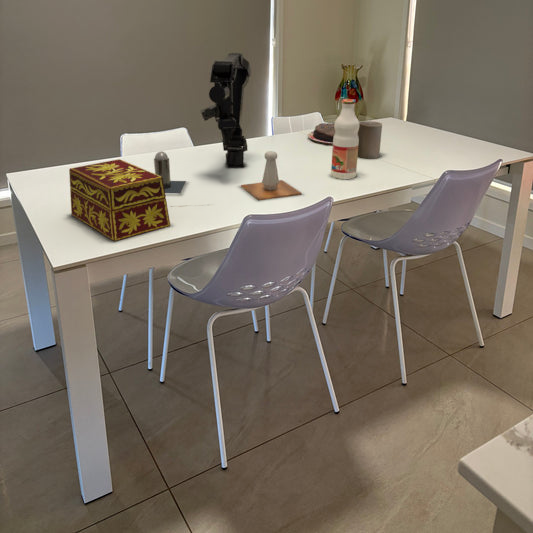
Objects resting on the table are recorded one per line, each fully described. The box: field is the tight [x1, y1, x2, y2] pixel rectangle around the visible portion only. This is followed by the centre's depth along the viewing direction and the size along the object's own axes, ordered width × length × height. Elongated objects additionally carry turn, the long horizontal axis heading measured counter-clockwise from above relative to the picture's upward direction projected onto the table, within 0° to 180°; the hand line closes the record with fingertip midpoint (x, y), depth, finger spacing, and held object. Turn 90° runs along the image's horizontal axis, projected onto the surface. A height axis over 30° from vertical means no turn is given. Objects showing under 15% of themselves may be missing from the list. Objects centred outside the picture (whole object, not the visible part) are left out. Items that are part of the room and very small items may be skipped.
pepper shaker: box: [153, 151, 172, 189], centre depth 204 cm, size 5×5×12 cm
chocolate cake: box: [307, 122, 335, 146], centre depth 274 cm, size 28×28×7 cm
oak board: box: [240, 179, 302, 201], centre depth 205 cm, size 16×16×1 cm
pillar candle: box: [357, 119, 383, 160], centre depth 245 cm, size 10×10×15 cm
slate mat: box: [165, 180, 187, 195], centre depth 206 cm, size 14×14×1 cm
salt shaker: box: [261, 150, 280, 191], centre depth 203 cm, size 6×6×13 cm
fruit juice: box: [330, 98, 360, 180], centre depth 216 cm, size 9×9×28 cm
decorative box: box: [68, 158, 171, 242], centre depth 175 cm, size 28×19×15 cm
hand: (225, 142), depth 214 cm, fingers open, 9 cm apart
